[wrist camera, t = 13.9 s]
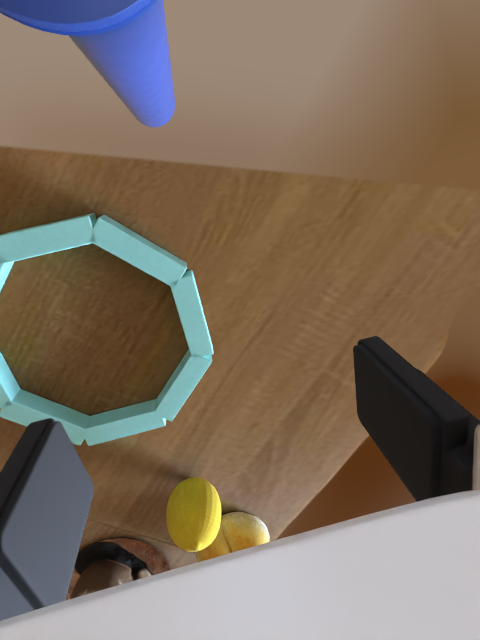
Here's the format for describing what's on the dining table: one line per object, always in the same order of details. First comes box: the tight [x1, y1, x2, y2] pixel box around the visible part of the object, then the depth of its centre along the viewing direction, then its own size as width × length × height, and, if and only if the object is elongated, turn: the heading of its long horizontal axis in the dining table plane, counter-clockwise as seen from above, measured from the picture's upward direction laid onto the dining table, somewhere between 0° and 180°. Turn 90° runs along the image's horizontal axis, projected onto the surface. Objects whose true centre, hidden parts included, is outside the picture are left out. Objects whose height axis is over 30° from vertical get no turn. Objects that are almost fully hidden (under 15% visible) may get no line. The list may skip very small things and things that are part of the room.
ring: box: [0, 213, 213, 446], centre depth 31 cm, size 20×20×2 cm
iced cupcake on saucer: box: [70, 538, 170, 599], centre depth 42 cm, size 12×10×10 cm
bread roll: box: [196, 512, 269, 562], centre depth 42 cm, size 8×9×4 cm
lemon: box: [166, 477, 221, 552], centre depth 36 cm, size 6×6×8 cm
